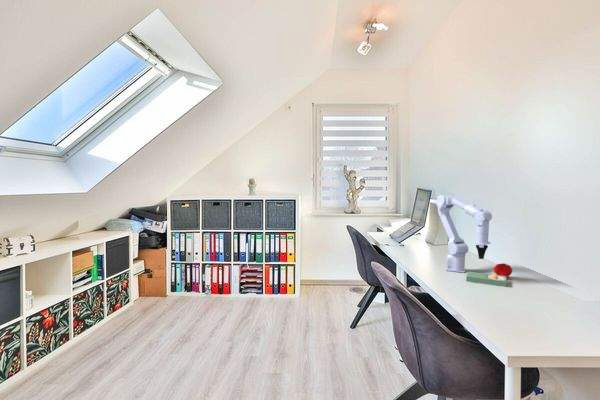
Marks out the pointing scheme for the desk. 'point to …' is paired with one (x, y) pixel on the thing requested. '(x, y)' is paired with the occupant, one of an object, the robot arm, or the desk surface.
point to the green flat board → (486, 279)
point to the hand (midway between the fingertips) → (481, 258)
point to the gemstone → (503, 270)
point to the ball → (494, 276)
